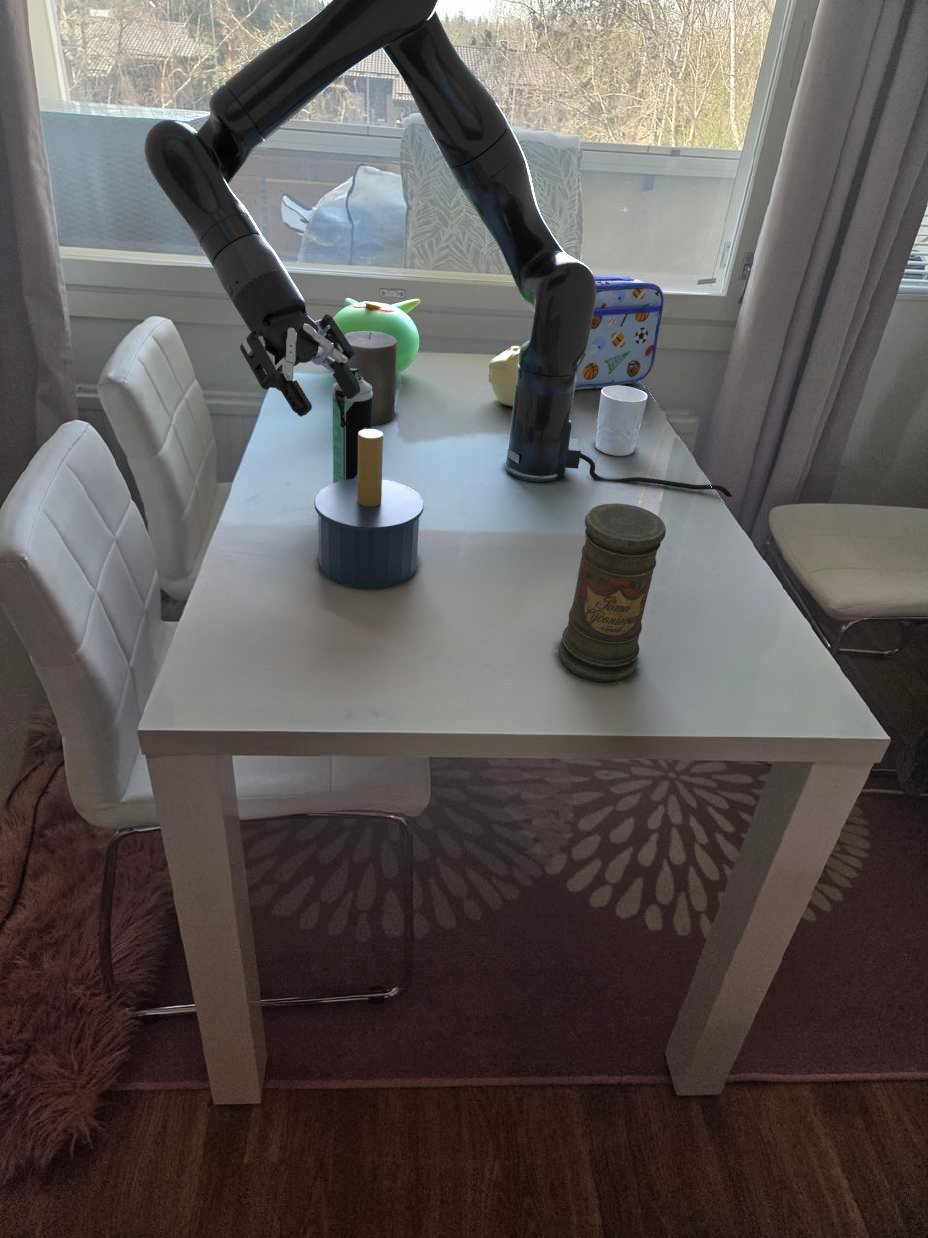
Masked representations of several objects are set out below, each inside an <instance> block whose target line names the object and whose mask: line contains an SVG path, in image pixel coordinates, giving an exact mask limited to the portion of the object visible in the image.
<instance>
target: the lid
mask: <svg viewBox="0 0 928 1238" xmlns="http://www.w3.org/2000/svg"><path fill="white" fill-rule="evenodd" d="M383 456H384V433H383V432H382V431H381V430H378V429H375V428H372V429H363V430H361V431H359V432H358V478H357V479H348V480H343V481H339V482H335V483H333V482H332V483H330V484H328V485H326V486H325V487H322V489H320V490H319V491H318V492H317V494H316V495H315V496H314V501H313V503H314V510H315V512H316V513H317V515H318V514H319V516H321V517H322V518H323V519H324V520H326V521H327V522H329V523H331V524H334V525H336V526H339V527H342V528H346V529H350V530H356V531H369V532H376V531H388V530H394V529H398V528H401V527H405V526H407V525H409V524H411V523H413V522H415V521H416V520H417V519H418V518H419V519H420V517H421V516H422V515H423V512H424V509H425V508H424V507H425V505H424V500H423V498H422V496H421V495H420V493H418V491H416V490H414V489H413V488H412V487H409V486H407V485H406V484H403V483H400V482H396V481H394V480H388V479H383V461H384V460H383V459H384V457H383Z"/></svg>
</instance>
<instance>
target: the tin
mask: <svg viewBox="0 0 928 1238" xmlns="http://www.w3.org/2000/svg"><path fill="white" fill-rule="evenodd" d="M317 523H318V526H317V528H318V530H317V531H318V562H319V567H320V570H321V571H322V573H323V574H324V575H325V576H326V577H327V578H329V579H330V580H332V581H333V582H335V583H337V584H339V585H343V586H346V587H350V588H355V589H362V590H378V589H385V588H390V587H394V586H396V585H400V584H402V583H403V582H405V581H407V580H409V579H410V578H411V577H412V576H413V575H414V573H415V572H416V570H417V563H418V549H419V548H418V546H419V529H420V517H419V518H418V519H417V520H416V521H415V522H413V523H411V524H409V525H407V526H405V527H401V528H398V529H394V530H388V531H376V532H369V531H356V530H350V529H346V528H342V527H339V526H336V525H334V524H331V523H329V522H327V521H326V520H324V519H323V518H322V517H321V516H319V514H318V513H317Z"/></svg>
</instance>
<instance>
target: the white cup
mask: <svg viewBox="0 0 928 1238" xmlns="http://www.w3.org/2000/svg"><path fill="white" fill-rule="evenodd" d="M648 397H649V396H648V394H647V393H646V392H645V391H643V390H641V389H638V388H636V387H633V386H628V385H614V386H607V387H603V388H601V390H600V397H599V405H598V406H599V407H598V412H597V413H598V415H597V422H596V439H595V448H596V449H597V450H598V451H600V452H601V453H604V454H607V455H611V456H617V457H622V456H623V457H624V456H629V455H631V454H632V453H634V450H635V445H636V441H637V438H638V436H639V433H640V431H641V430H640V429H641V426H642V422H643V417H644V414H645V410H646V405H647V401H648Z"/></svg>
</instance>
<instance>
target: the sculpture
mask: <svg viewBox="0 0 928 1238" xmlns="http://www.w3.org/2000/svg"><path fill="white" fill-rule="evenodd" d="M520 348H521V346H519V345H512V346H510V347H509V348H507V349H506V350H505V351H503V352H501V353H500V354H499V355H496V356H495V357H493V358H491V360H490V362H489V363H488V373H487V376H488V382H489V384H490V386H491V388H492V391H493V393H494V396H495V397H496V399H497V400H498V402H499V403H500V404H502V405H504V406H508V407H513V403H514V394H515V385H516V376H517V367H518V359H519V351H520Z"/></svg>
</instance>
